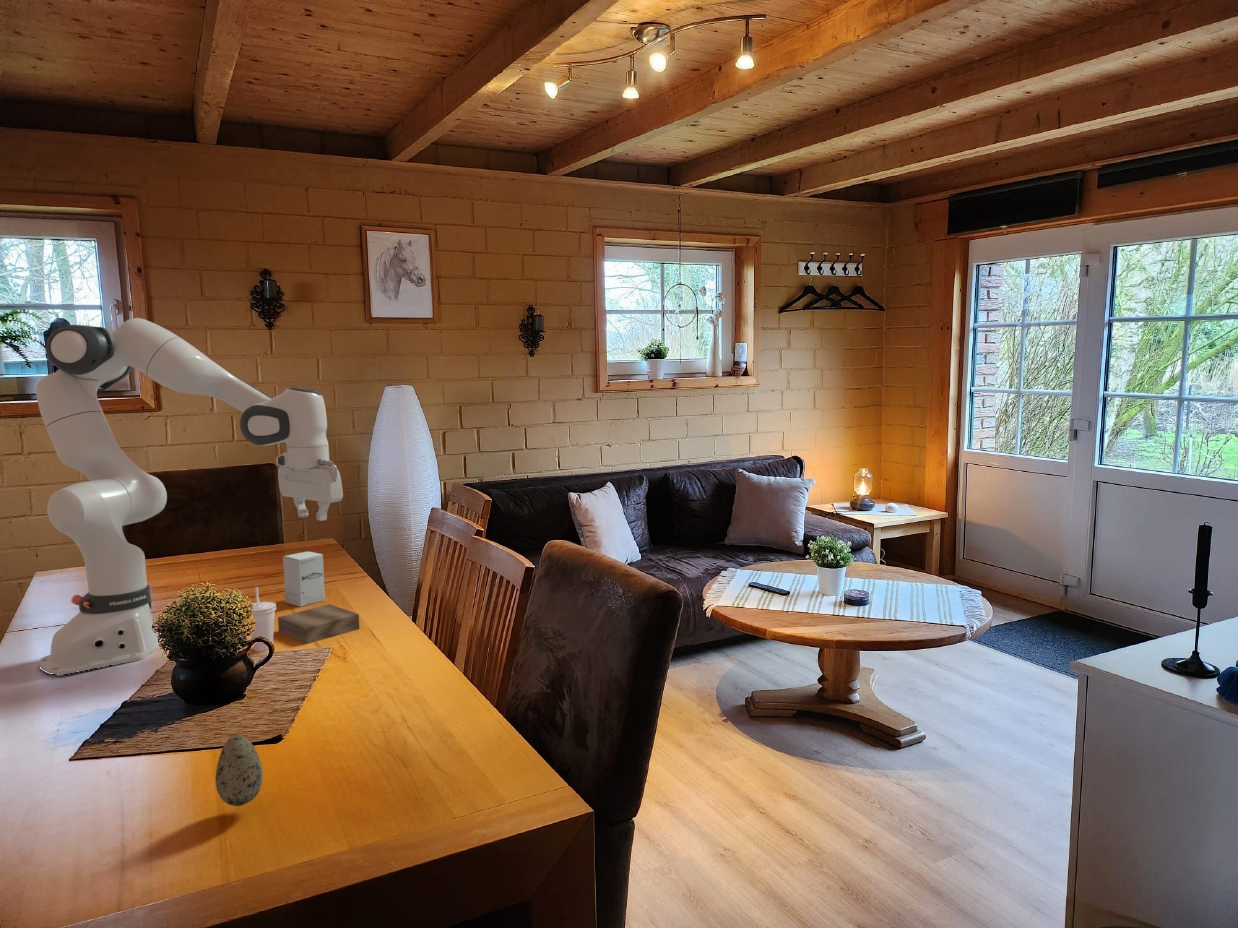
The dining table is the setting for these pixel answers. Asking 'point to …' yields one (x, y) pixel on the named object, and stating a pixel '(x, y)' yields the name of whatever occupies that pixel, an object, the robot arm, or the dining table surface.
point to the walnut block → (318, 623)
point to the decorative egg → (238, 772)
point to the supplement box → (304, 578)
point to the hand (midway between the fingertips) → (312, 518)
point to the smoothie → (263, 621)
